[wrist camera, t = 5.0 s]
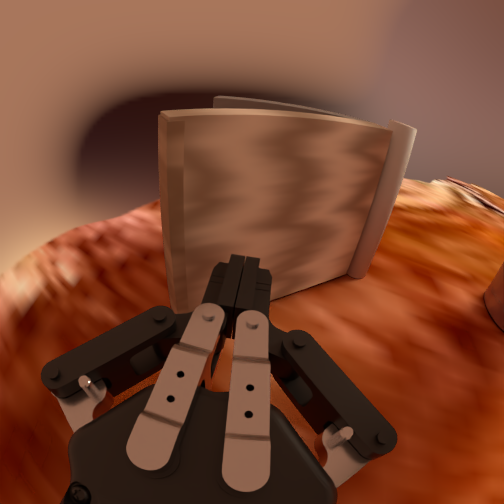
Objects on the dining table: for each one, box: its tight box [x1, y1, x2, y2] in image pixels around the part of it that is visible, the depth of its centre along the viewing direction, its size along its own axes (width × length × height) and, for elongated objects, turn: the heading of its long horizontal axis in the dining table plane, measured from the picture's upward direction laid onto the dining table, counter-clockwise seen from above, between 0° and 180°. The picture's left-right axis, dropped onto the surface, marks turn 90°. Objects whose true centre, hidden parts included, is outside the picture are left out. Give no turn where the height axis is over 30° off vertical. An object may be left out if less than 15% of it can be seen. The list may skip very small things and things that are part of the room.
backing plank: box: [213, 96, 417, 279], centre depth 24 cm, size 17×5×15 cm, turn 83°
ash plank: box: [158, 108, 393, 314], centre depth 19 cm, size 16×2×14 cm, turn 118°
